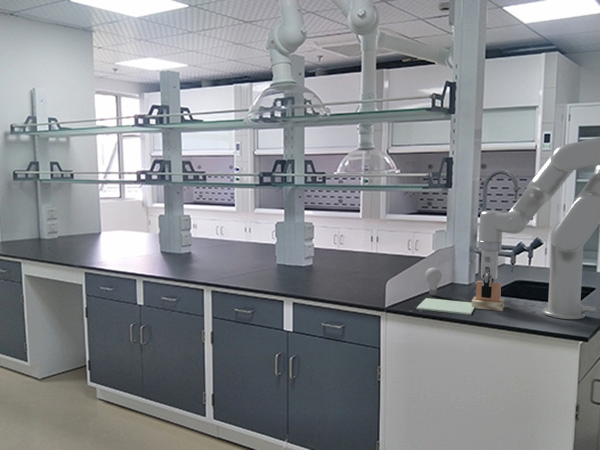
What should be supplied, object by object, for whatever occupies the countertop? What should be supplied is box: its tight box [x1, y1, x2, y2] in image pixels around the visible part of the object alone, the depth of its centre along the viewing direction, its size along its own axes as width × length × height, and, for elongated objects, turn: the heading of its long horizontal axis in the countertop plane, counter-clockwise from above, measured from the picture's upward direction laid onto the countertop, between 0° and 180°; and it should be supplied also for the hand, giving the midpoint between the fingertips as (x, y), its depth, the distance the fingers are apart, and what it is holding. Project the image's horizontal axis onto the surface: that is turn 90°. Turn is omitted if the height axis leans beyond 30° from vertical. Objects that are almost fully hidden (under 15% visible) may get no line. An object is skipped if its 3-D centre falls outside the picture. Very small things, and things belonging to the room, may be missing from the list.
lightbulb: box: [424, 267, 443, 297], centre depth 206 cm, size 6×6×11 cm
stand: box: [470, 296, 505, 312], centre depth 189 cm, size 10×7×2 cm
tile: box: [475, 280, 502, 302], centre depth 188 cm, size 8×2×9 cm, turn 65°
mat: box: [416, 297, 476, 316], centre depth 189 cm, size 18×16×1 cm
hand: (487, 294), depth 188 cm, fingers open, 9 cm apart
